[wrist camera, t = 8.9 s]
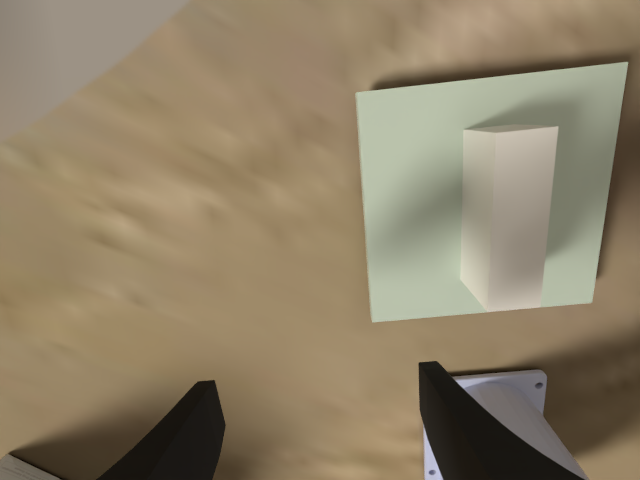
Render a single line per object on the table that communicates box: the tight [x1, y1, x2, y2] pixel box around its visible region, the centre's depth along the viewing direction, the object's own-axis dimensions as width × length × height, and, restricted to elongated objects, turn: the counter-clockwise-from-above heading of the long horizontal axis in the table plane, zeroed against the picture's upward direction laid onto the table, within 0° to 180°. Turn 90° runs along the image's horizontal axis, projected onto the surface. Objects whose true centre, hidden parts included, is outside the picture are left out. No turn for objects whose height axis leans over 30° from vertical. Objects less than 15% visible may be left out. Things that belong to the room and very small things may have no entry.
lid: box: [355, 62, 628, 322], centre depth 18 cm, size 12×12×5 cm
